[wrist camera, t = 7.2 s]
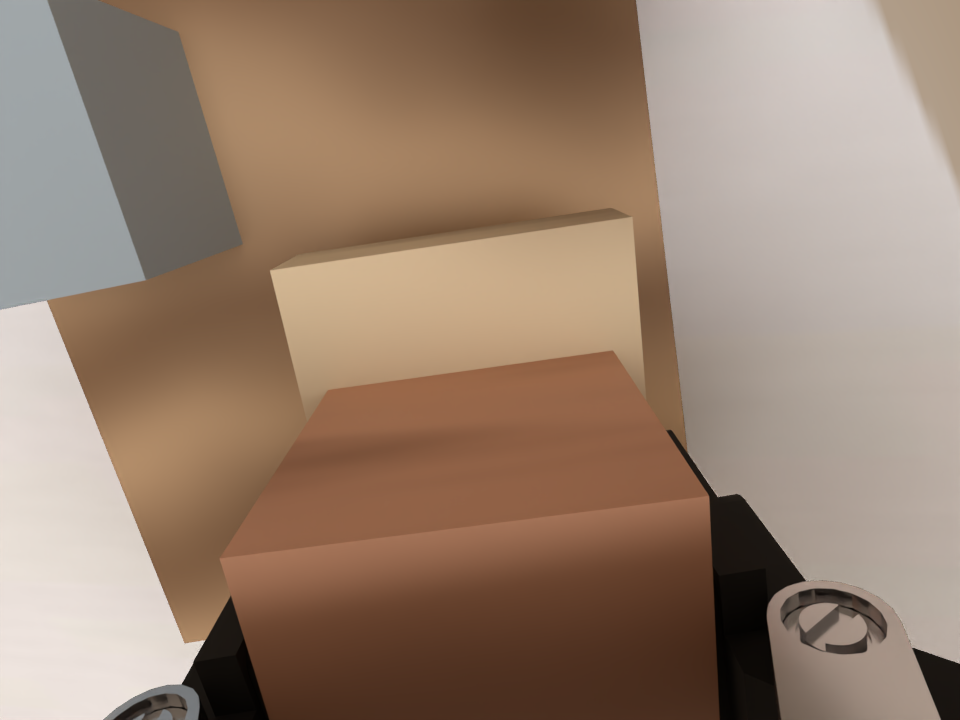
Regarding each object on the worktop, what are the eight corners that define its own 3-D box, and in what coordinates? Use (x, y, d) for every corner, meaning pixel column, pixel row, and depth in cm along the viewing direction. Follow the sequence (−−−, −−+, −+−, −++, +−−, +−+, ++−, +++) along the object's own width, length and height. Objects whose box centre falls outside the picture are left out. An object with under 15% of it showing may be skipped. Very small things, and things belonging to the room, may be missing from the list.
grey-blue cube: (242, 244, 17) (146, 280, 12) (58, 281, 17) (-108, 331, 12) (178, 31, 15) (38, -24, 11) (-22, 77, 16) (-245, 43, 11)
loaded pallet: (648, 642, 15) (771, 1003, 9) (395, 672, 16) (333, 1043, 9) (611, 207, 12) (755, 269, 6) (298, 254, 13) (104, 363, 6)
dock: (664, 492, 23) (699, 559, 19) (232, 566, 24) (184, 643, 20) (590, -85, 18) (618, -149, 14) (42, 41, 19) (-69, 13, 15)
